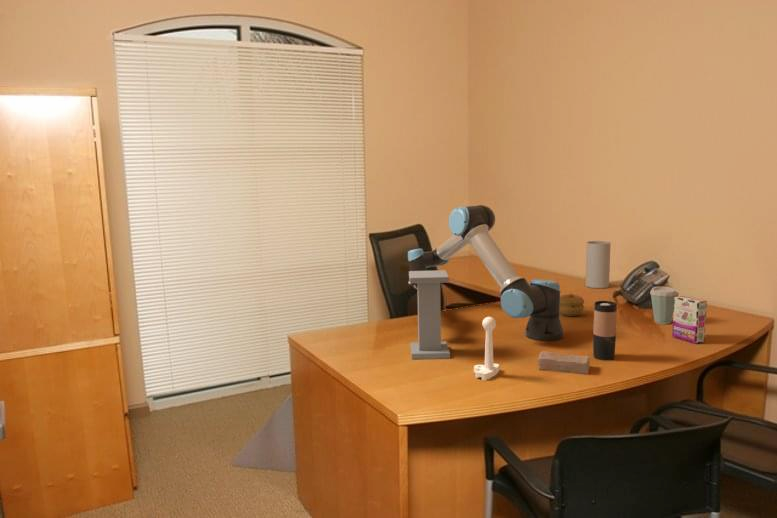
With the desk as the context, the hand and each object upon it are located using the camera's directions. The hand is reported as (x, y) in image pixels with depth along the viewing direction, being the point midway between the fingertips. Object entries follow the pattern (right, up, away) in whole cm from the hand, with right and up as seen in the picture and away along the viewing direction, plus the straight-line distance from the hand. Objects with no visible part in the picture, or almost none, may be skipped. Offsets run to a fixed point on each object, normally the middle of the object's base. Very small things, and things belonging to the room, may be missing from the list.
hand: (426, 282), depth 243 cm
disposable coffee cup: (+103, -18, +12) cm, 105 cm away
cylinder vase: (+102, -6, +87) cm, 134 cm away
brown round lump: (+68, -16, +28) cm, 76 cm away
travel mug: (+62, -26, -31) cm, 74 cm away
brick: (+44, -28, -41) cm, 67 cm away
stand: (0, -26, -20) cm, 32 cm away
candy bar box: (+102, -22, -13) cm, 105 cm away
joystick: (+17, -29, -45) cm, 56 cm away
